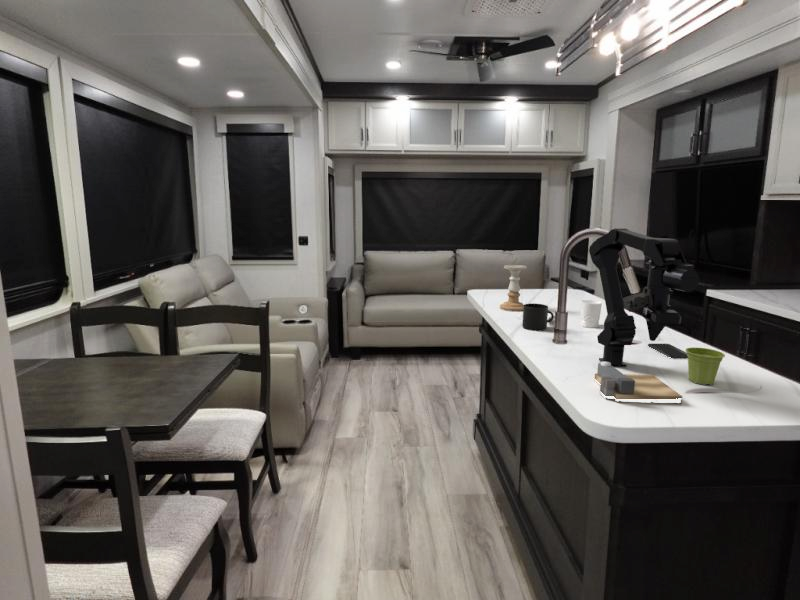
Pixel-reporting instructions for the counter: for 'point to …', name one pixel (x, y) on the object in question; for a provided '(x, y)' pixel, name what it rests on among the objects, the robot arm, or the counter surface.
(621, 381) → the folding leg
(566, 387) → the counter surface
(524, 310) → the mug
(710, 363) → the plant pot
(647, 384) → the tan wooden slab
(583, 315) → the white cup
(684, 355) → the phone
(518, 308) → the candle holder
